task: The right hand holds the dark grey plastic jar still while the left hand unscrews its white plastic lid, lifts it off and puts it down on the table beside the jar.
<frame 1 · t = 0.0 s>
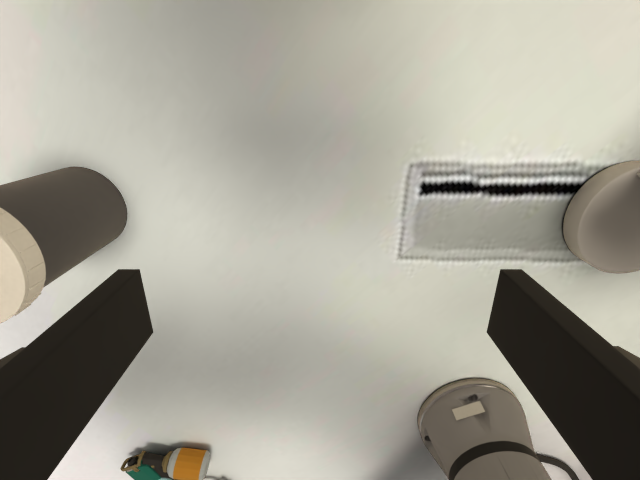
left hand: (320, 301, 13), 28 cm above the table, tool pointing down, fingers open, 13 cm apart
bust sculpture: (623, 182, 40), on the table
spray gun: (186, 472, 58), on the table
jar: (86, 207, 41), on the table
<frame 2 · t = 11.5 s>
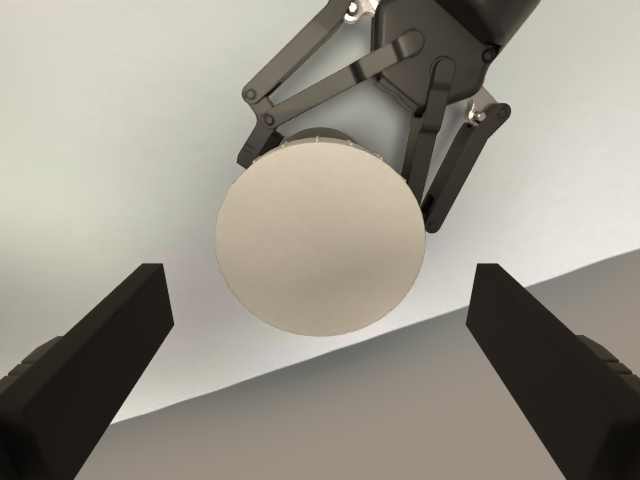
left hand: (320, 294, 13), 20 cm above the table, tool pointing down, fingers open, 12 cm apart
right hand: (288, 243, 27), fingers closed on jar, 9 cm apart
lid: (320, 247, 18), point 16 cm above the table, screwed on, not yet turned
jar: (320, 180, 32), on the table, touching right hand
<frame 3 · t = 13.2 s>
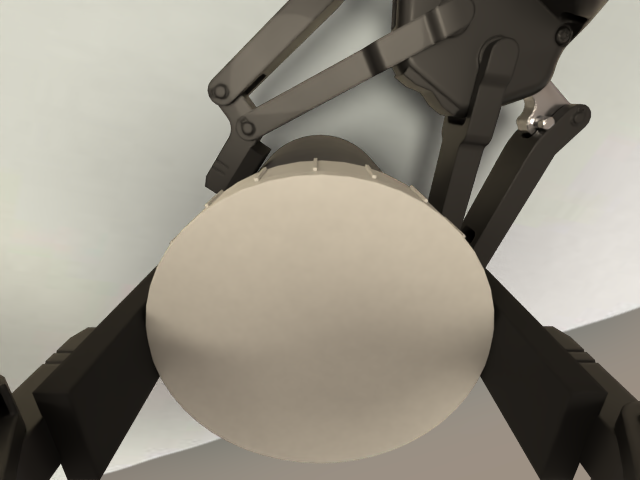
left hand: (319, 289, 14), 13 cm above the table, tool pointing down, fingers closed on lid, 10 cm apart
right hand: (277, 289, 21), fingers closed on jar, 9 cm apart
lid: (320, 338, 11), point 16 cm above the table, screwed on, not yet turned, touching left hand
jar: (319, 202, 25), on the table, touching right hand
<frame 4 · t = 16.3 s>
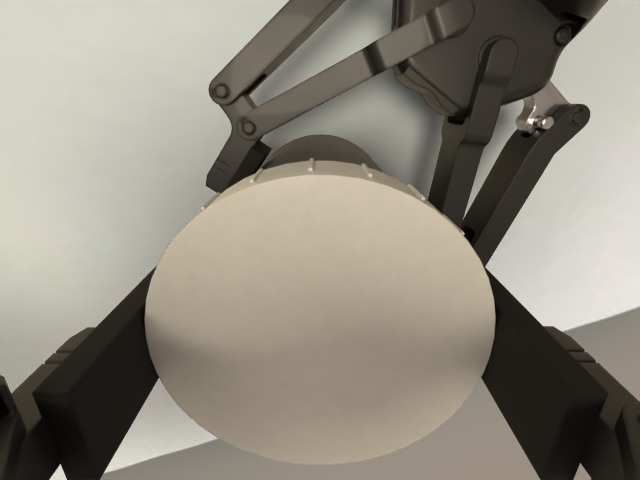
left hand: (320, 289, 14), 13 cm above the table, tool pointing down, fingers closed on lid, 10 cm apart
right hand: (277, 288, 21), fingers closed on jar, 9 cm apart
lid: (320, 339, 11), point 16 cm above the table, turned 87° so far, risen 0.1 cm, still on its thread, touching left hand
jar: (320, 201, 25), on the table, touching right hand
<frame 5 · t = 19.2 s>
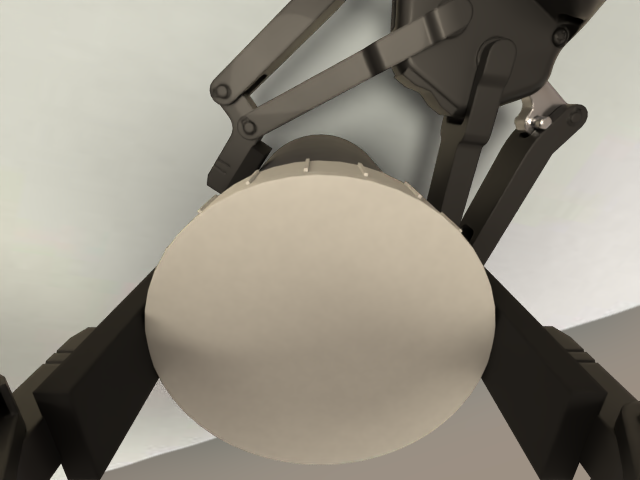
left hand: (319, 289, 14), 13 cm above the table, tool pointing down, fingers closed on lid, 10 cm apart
right hand: (278, 287, 21), fingers closed on jar, 9 cm apart
lid: (320, 339, 11), point 16 cm above the table, turned 174° so far, risen 0.3 cm, still on its thread, touching left hand
jar: (320, 201, 26), on the table, touching right hand
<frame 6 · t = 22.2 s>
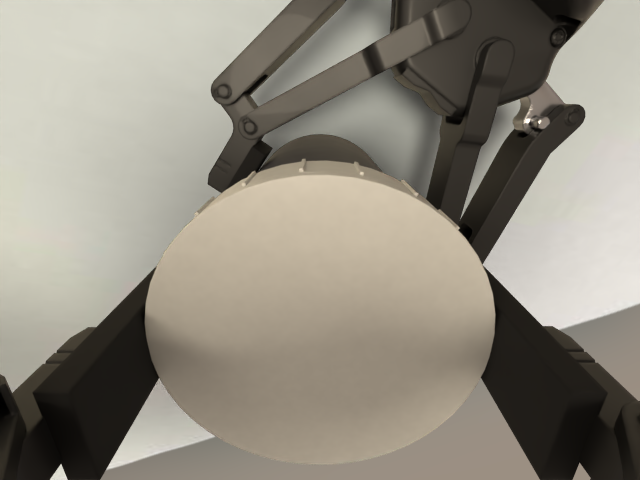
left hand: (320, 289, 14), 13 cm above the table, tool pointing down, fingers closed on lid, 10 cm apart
right hand: (278, 286, 21), fingers closed on jar, 9 cm apart
lid: (320, 339, 11), point 16 cm above the table, turned 261° so far, risen 0.5 cm, still on its thread, touching left hand
jar: (320, 200, 26), on the table, touching right hand
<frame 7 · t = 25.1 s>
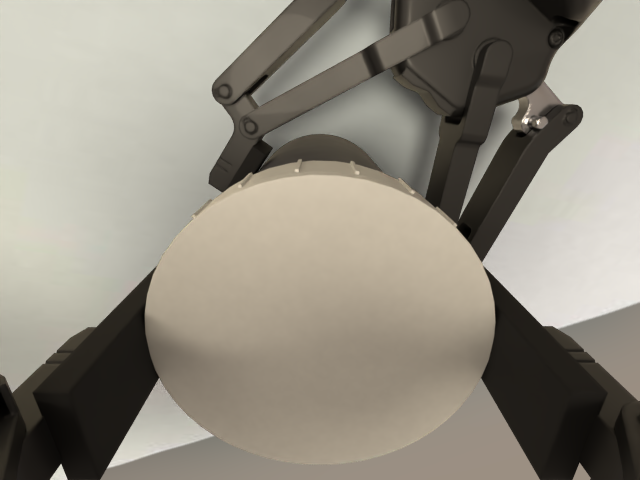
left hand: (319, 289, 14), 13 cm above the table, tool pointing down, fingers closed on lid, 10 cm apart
right hand: (278, 284, 21), fingers closed on jar, 9 cm apart
lid: (320, 339, 11), point 16 cm above the table, turned 348° so far, risen 0.6 cm, still on its thread, touching left hand
jar: (320, 199, 26), on the table, touching right hand
when the left hand's fingers open (0 cm above the table, at t = 34.2 s): lid drops 1 cm, point 2 cm above the table.
when the right hand's fingers open (6 cm above the table, at t = 35.2 s): jar stays where it is, on the table.
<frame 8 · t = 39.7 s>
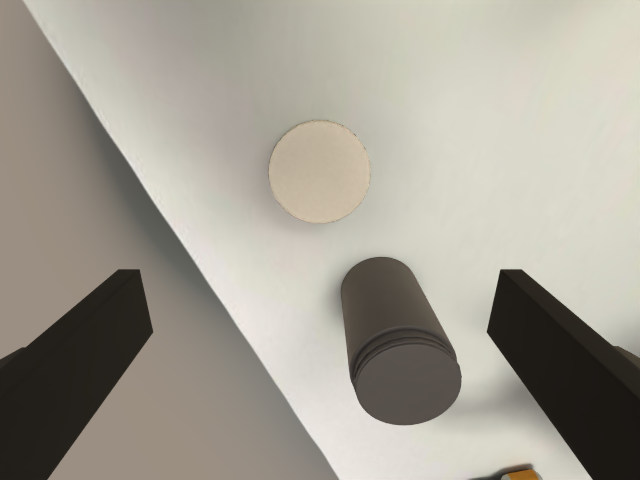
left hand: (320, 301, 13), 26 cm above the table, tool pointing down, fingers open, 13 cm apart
lid: (319, 174, 36), point 2 cm above the table, off its thread
jar: (378, 291, 43), on the table
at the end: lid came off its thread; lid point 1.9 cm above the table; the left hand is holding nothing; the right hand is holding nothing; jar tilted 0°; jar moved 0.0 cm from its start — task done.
